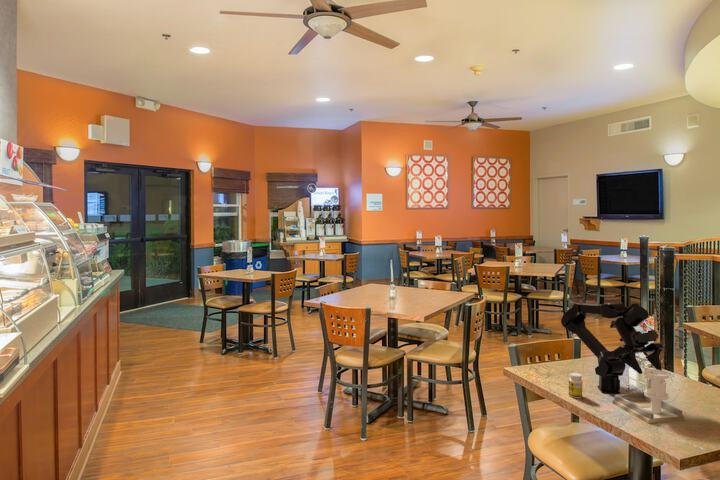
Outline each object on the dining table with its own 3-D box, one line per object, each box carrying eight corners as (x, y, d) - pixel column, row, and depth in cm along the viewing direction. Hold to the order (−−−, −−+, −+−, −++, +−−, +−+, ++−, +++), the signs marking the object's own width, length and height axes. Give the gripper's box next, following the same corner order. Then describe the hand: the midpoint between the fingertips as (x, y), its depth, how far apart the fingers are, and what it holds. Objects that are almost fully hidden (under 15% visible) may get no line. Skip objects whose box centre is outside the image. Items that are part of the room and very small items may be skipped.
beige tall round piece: (643, 406, 173) (643, 364, 172) (666, 409, 170) (667, 367, 169) (644, 414, 167) (645, 370, 166) (669, 417, 164) (670, 373, 163)
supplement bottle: (566, 393, 189) (566, 372, 188) (577, 393, 189) (578, 372, 189) (572, 398, 184) (573, 376, 183) (584, 398, 184) (585, 376, 184)
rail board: (612, 403, 180) (612, 395, 179) (645, 399, 182) (645, 392, 182) (648, 423, 163) (648, 414, 163) (684, 419, 166) (684, 410, 165)
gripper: (623, 322, 173) (647, 364, 164) (662, 321, 179) (687, 360, 170) (603, 338, 181) (625, 378, 172) (641, 335, 187) (664, 374, 178)
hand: (651, 372), depth 173 cm, fingers open, 9 cm apart
